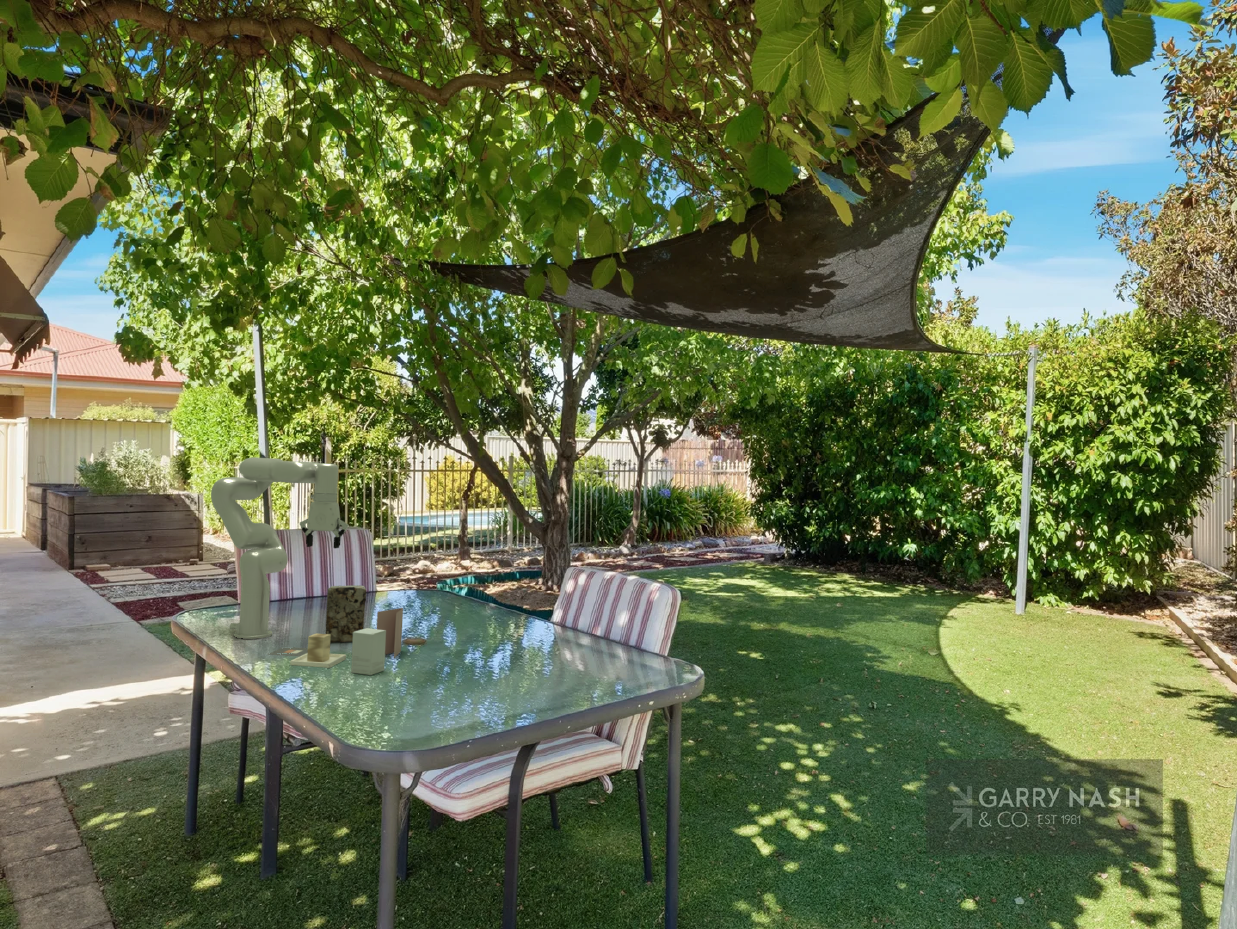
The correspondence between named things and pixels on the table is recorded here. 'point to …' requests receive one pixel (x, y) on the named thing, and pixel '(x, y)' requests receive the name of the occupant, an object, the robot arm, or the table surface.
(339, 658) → the cream tray
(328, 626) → the stone block
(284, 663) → the table surface
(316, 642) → the beech block
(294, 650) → the tile
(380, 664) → the supplement box
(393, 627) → the greeting card
